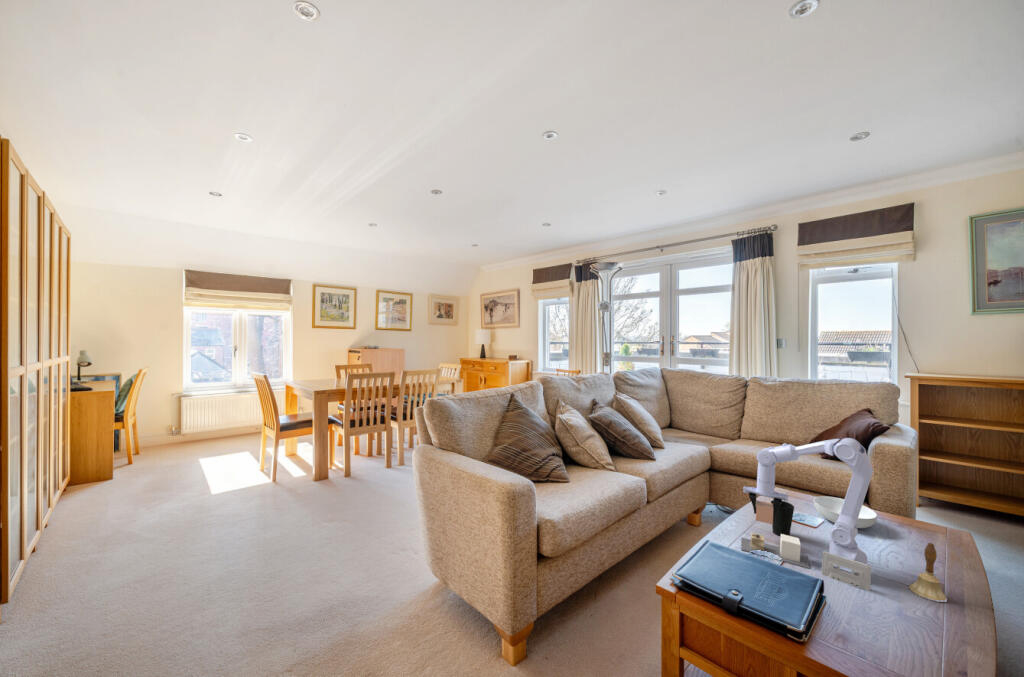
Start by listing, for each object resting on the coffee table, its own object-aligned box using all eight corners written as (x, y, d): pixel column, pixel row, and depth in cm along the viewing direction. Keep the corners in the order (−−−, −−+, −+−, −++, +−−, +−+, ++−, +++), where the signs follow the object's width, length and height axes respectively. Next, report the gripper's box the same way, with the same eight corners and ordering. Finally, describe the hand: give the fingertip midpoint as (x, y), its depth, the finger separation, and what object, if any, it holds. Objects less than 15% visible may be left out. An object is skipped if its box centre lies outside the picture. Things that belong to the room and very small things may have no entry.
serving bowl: (826, 529, 162) (826, 513, 162) (804, 508, 182) (805, 493, 182) (888, 538, 156) (889, 521, 156) (859, 515, 176) (860, 500, 176)
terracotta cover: (772, 524, 149) (773, 508, 149) (755, 520, 151) (756, 505, 151) (771, 518, 153) (772, 503, 153) (755, 515, 156) (756, 500, 156)
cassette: (821, 575, 131) (822, 552, 130) (821, 572, 132) (822, 550, 132) (870, 592, 123) (871, 567, 123) (870, 589, 124) (871, 565, 124)
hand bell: (953, 606, 117) (956, 553, 117) (915, 596, 121) (918, 545, 121) (940, 591, 124) (943, 541, 124) (904, 582, 128) (907, 533, 128)
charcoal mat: (805, 554, 142) (805, 553, 142) (809, 568, 134) (809, 567, 134) (741, 538, 153) (741, 537, 152) (741, 550, 144) (741, 549, 144)
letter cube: (763, 546, 146) (763, 535, 146) (763, 551, 143) (764, 540, 143) (750, 543, 148) (751, 532, 148) (750, 548, 145) (751, 537, 145)
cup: (797, 539, 153) (799, 508, 153) (777, 538, 153) (779, 508, 153) (784, 529, 161) (785, 500, 161) (765, 528, 161) (766, 499, 161)
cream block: (797, 554, 142) (798, 538, 141) (799, 562, 137) (800, 545, 137) (779, 549, 144) (780, 533, 144) (780, 556, 140) (781, 540, 140)
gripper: (787, 481, 152) (786, 515, 152) (744, 472, 159) (742, 506, 159) (789, 487, 146) (787, 523, 146) (744, 478, 153) (742, 512, 153)
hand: (764, 514), depth 152 cm, fingers closed on terracotta cover, 5 cm apart
